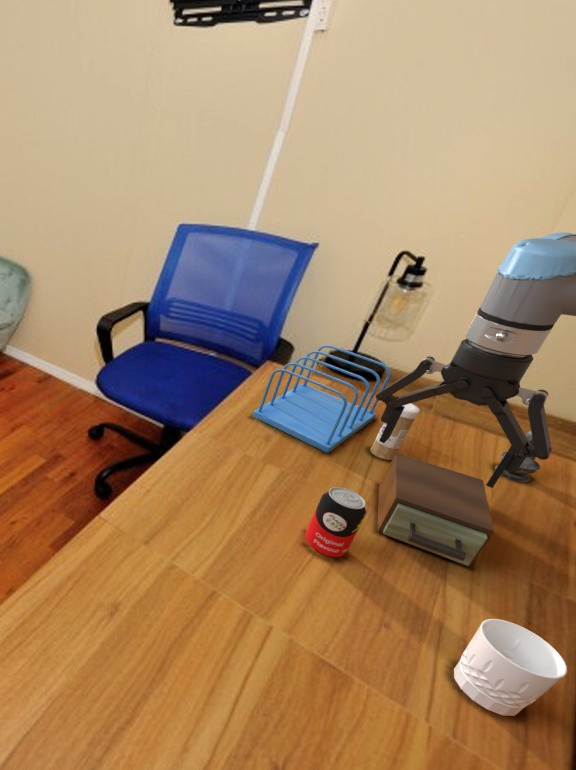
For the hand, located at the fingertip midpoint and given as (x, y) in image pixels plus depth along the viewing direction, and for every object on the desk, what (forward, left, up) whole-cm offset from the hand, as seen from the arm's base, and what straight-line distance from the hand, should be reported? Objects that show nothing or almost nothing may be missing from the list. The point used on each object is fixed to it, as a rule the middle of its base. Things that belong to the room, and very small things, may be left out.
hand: (434, 460), depth 83 cm
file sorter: (+15, -39, -20) cm, 47 cm away
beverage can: (+9, +7, -20) cm, 23 cm away
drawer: (-5, -7, -19) cm, 21 cm away
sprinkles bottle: (+1, -32, -20) cm, 38 cm away
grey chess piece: (-21, -41, -20) cm, 51 cm away
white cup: (-11, +23, -20) cm, 33 cm away
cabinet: (-5, -11, -20) cm, 24 cm away
